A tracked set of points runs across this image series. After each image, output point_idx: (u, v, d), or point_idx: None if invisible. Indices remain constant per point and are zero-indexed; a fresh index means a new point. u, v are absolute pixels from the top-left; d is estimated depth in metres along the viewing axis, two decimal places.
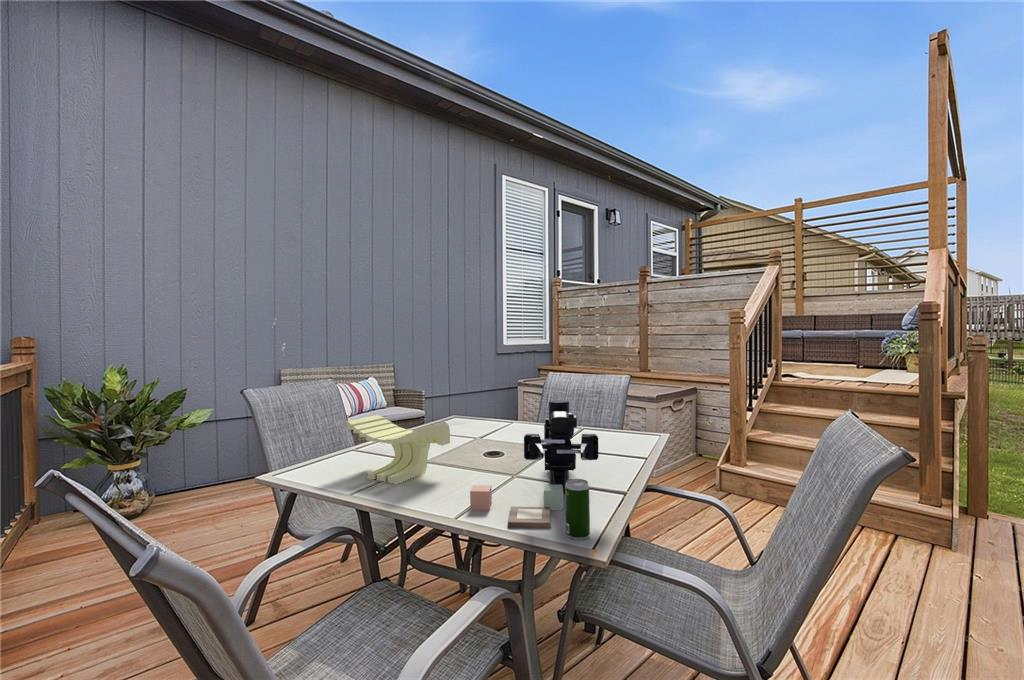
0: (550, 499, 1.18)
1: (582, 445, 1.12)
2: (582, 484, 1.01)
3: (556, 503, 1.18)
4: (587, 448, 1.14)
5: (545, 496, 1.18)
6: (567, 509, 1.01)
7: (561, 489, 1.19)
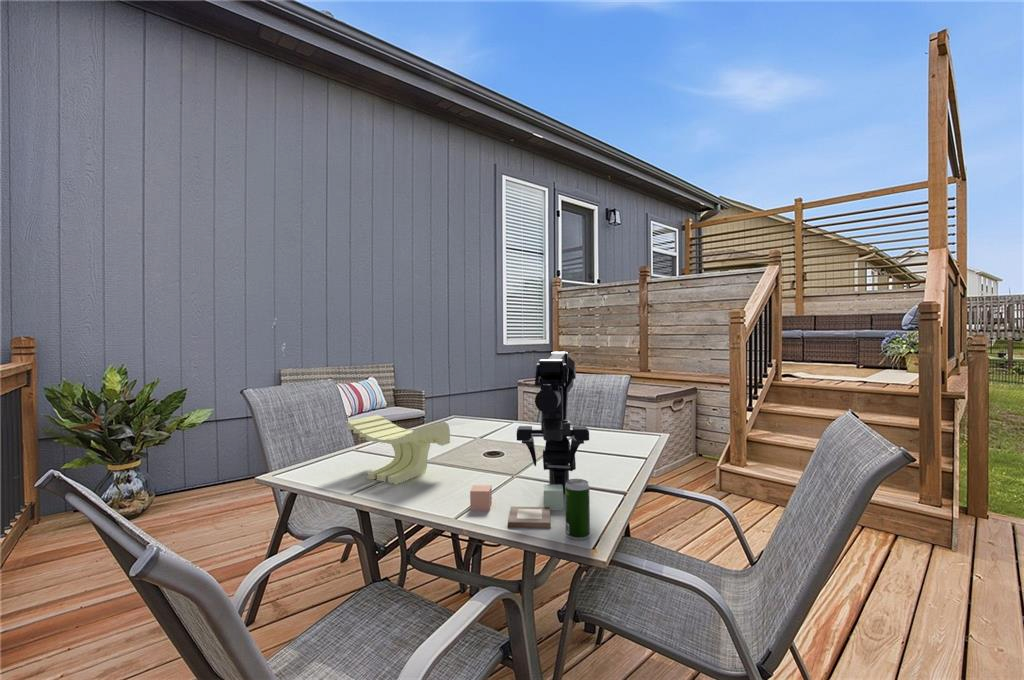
0: (550, 499, 1.18)
1: (572, 451, 1.19)
2: (582, 484, 1.01)
3: (556, 503, 1.18)
4: None
5: (545, 496, 1.18)
6: (567, 509, 1.01)
7: (561, 489, 1.19)
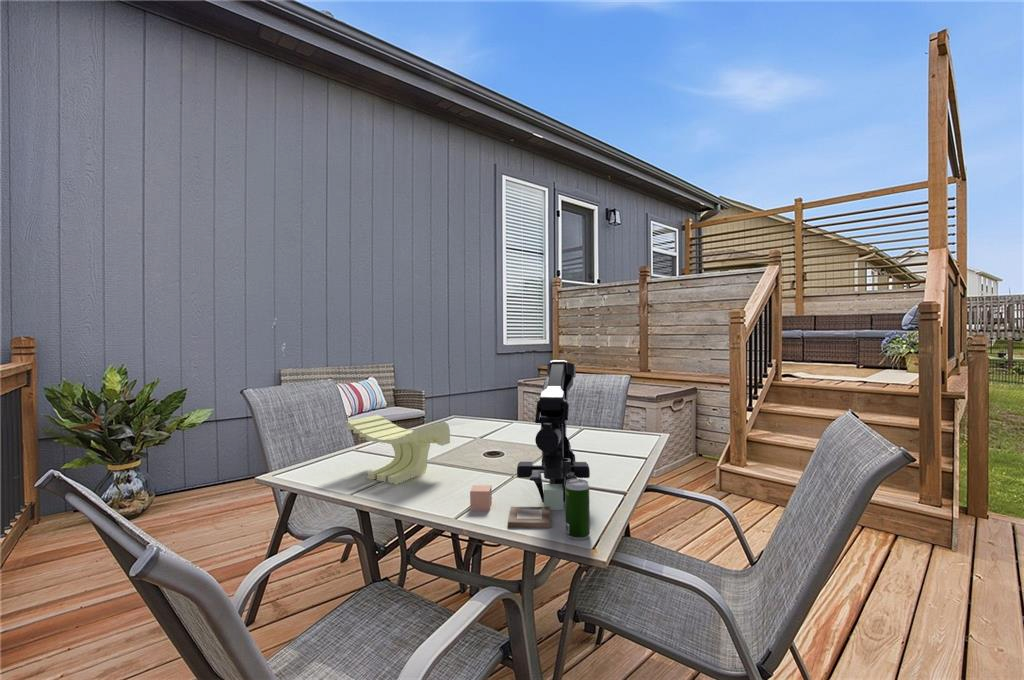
0: (550, 499, 1.18)
1: None
2: (582, 484, 1.01)
3: (556, 503, 1.18)
4: None
5: (545, 496, 1.18)
6: (567, 509, 1.01)
7: (561, 489, 1.19)
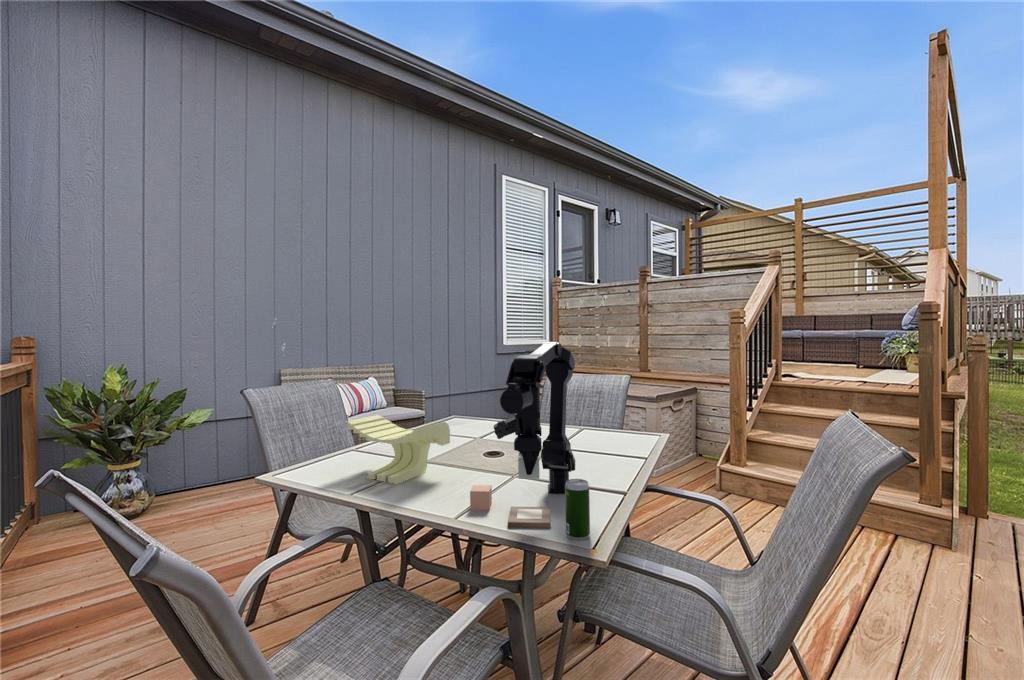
0: None
1: None
2: (582, 484, 1.01)
3: None
4: None
5: None
6: (567, 509, 1.01)
7: (522, 457, 1.10)
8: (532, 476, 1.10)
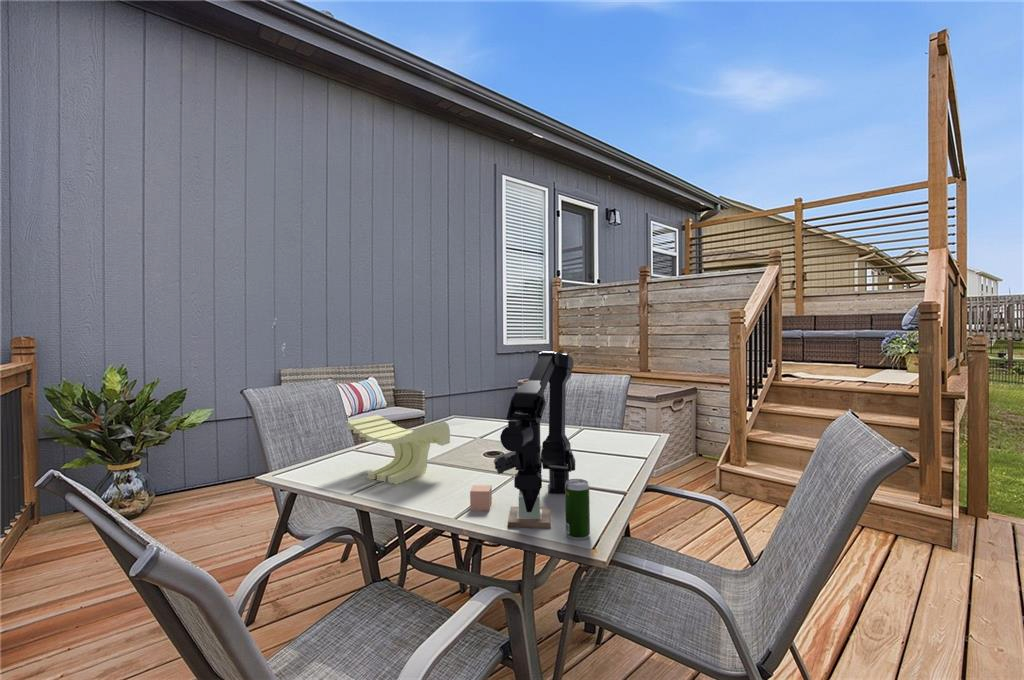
0: None
1: None
2: (582, 484, 1.01)
3: None
4: None
5: None
6: (567, 509, 1.01)
7: (522, 496, 1.10)
8: (532, 515, 1.10)
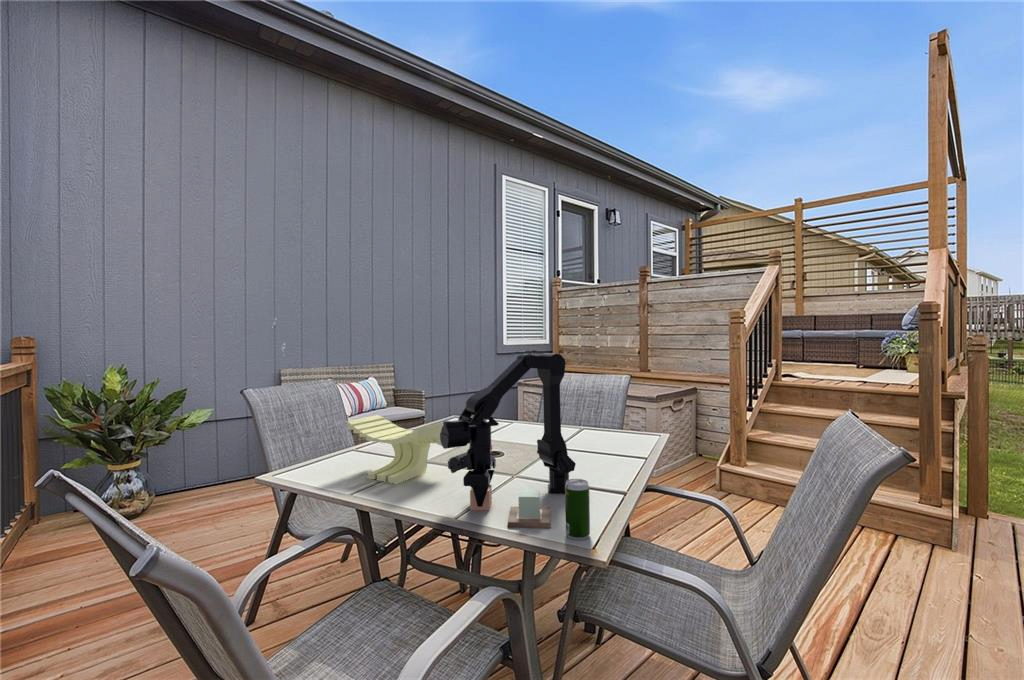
0: None
1: None
2: (582, 484, 1.01)
3: None
4: None
5: None
6: (567, 509, 1.01)
7: (522, 496, 1.10)
8: (532, 515, 1.10)
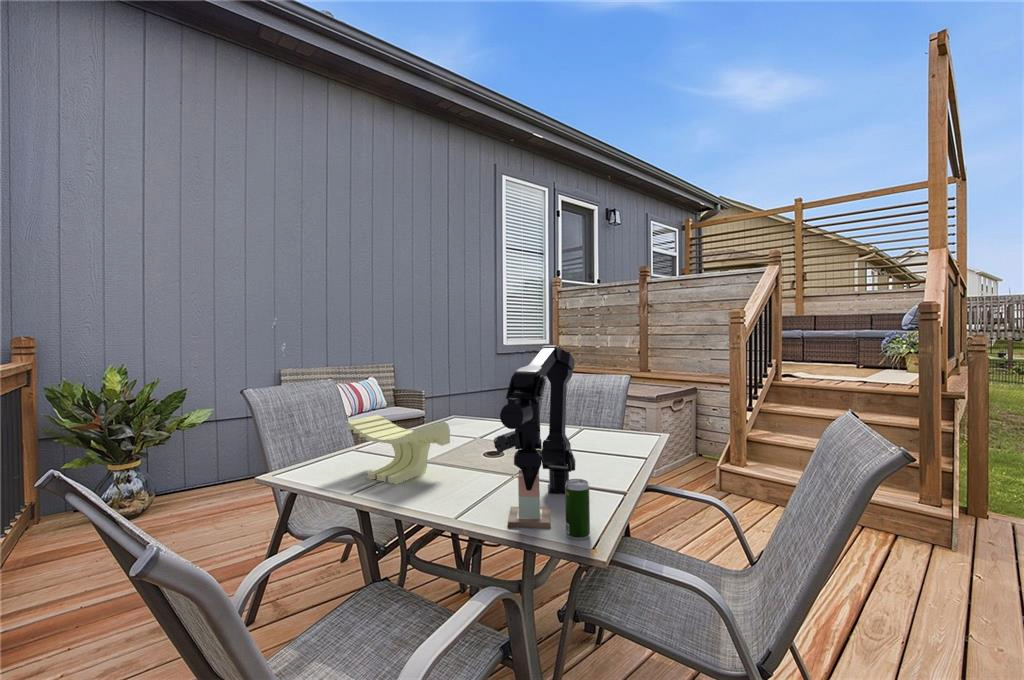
0: None
1: None
2: (582, 484, 1.01)
3: None
4: None
5: None
6: (567, 509, 1.01)
7: None
8: (532, 515, 1.10)
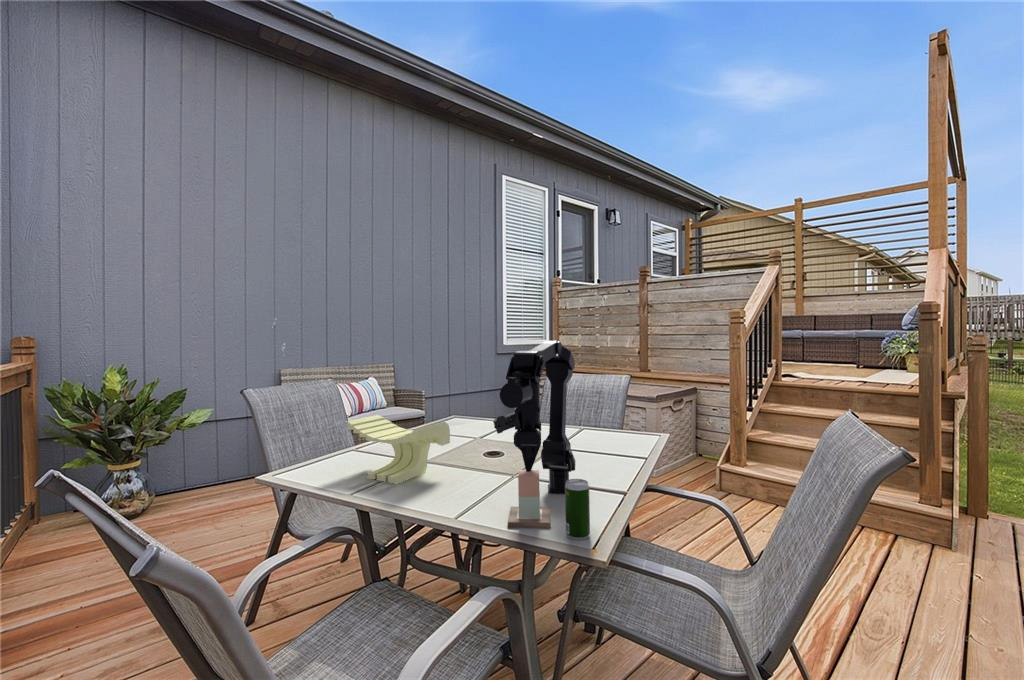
0: None
1: None
2: (582, 484, 1.01)
3: None
4: None
5: None
6: (567, 509, 1.01)
7: None
8: (532, 515, 1.10)
